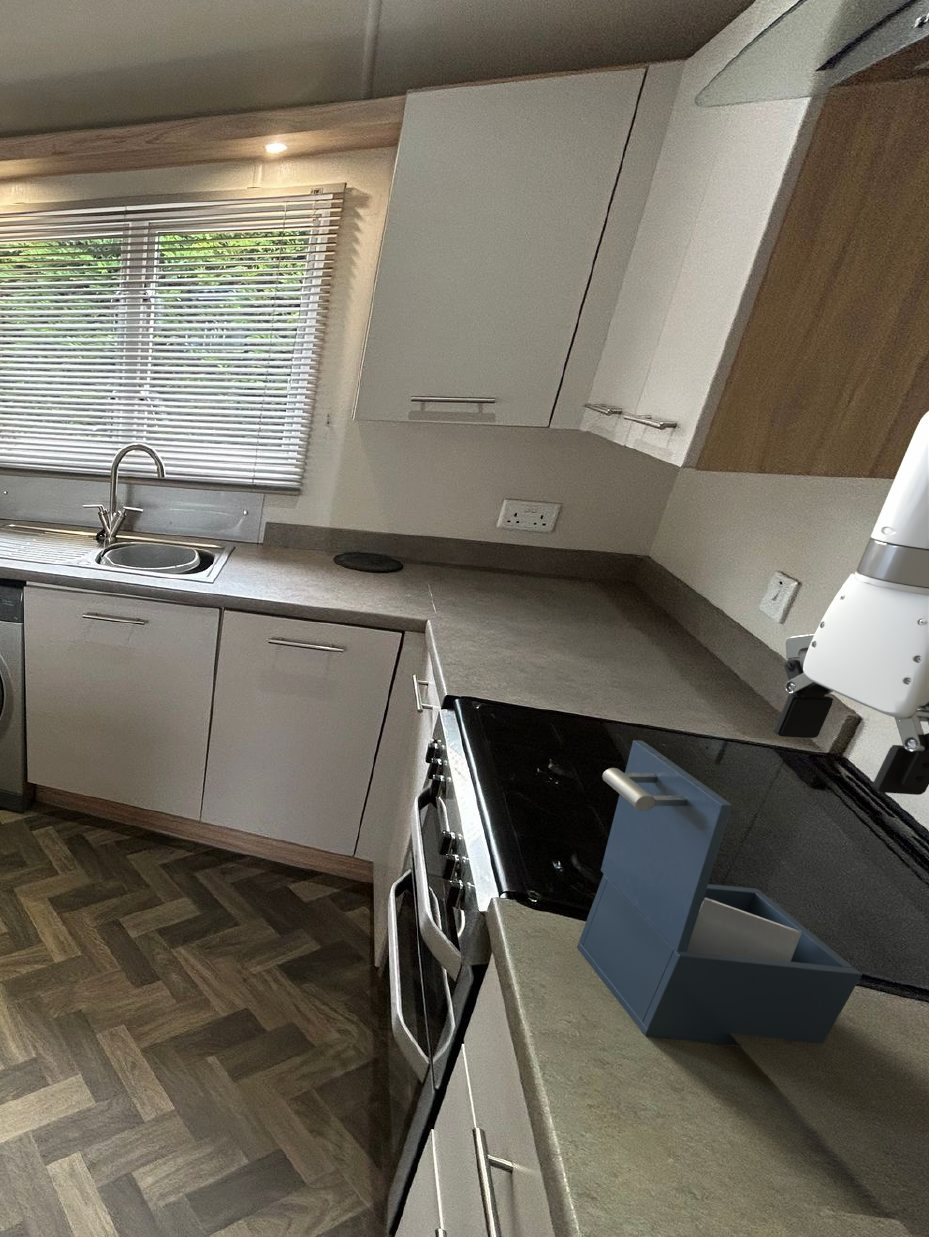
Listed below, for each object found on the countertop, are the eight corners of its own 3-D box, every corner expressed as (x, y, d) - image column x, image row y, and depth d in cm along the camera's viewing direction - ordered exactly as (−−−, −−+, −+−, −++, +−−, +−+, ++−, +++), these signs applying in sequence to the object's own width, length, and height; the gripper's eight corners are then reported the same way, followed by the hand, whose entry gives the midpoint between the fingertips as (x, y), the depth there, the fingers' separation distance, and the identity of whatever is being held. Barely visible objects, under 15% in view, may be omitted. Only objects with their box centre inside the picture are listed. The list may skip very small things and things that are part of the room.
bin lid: (641, 740, 70) (586, 740, 71) (733, 805, 59) (666, 804, 60) (608, 870, 75) (557, 869, 76) (686, 952, 65) (626, 949, 66)
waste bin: (722, 962, 77) (757, 888, 74) (816, 1055, 67) (862, 974, 63) (576, 947, 79) (603, 874, 76) (644, 1035, 69) (680, 955, 65)
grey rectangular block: (760, 1025, 69) (802, 943, 65) (669, 986, 73) (704, 907, 70) (759, 1002, 71) (800, 922, 68) (671, 966, 76) (705, 889, 72)
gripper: (1130, 602, 47) (1003, 822, 54) (880, 545, 63) (805, 720, 70) (997, 597, 48) (888, 814, 55) (784, 543, 64) (718, 716, 71)
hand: (842, 761), depth 62 cm, fingers open, 9 cm apart
